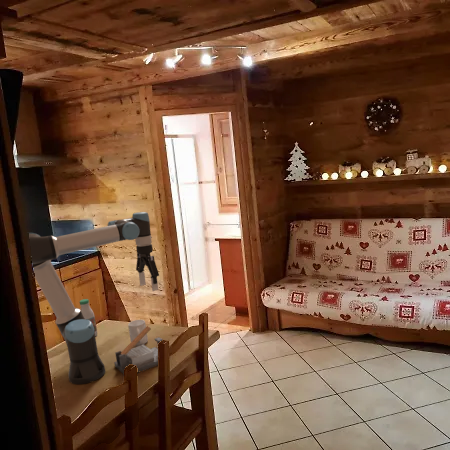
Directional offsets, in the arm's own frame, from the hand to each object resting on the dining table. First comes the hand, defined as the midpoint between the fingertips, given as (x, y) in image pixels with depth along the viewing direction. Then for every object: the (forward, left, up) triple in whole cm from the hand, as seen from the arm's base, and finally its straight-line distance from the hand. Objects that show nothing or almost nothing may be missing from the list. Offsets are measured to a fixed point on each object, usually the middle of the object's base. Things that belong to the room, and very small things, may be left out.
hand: (149, 287), depth 216 cm
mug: (-8, +4, -28) cm, 29 cm away
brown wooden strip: (-17, -17, -17) cm, 30 cm away
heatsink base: (-16, -17, -27) cm, 36 cm away
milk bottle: (-23, +35, -28) cm, 50 cm away
